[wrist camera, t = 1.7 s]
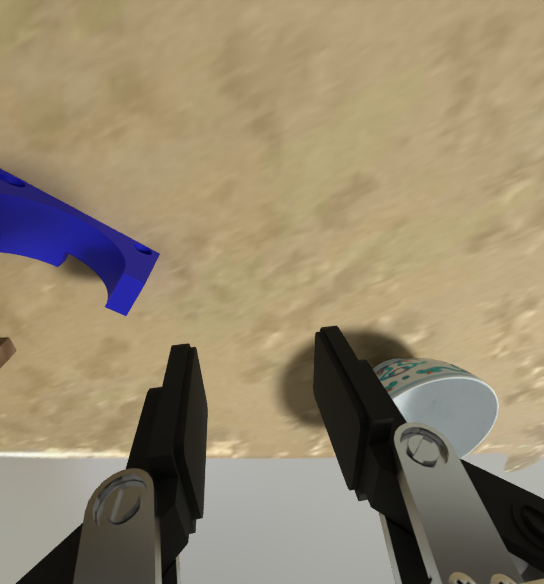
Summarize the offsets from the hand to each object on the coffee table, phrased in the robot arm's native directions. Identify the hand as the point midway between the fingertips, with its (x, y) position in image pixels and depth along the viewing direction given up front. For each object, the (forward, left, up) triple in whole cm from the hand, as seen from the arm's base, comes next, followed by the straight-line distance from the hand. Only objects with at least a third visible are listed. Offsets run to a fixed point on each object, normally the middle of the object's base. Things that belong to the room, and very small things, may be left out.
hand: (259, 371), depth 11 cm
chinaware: (+20, +17, -18) cm, 32 cm away
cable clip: (0, -13, -18) cm, 22 cm away
